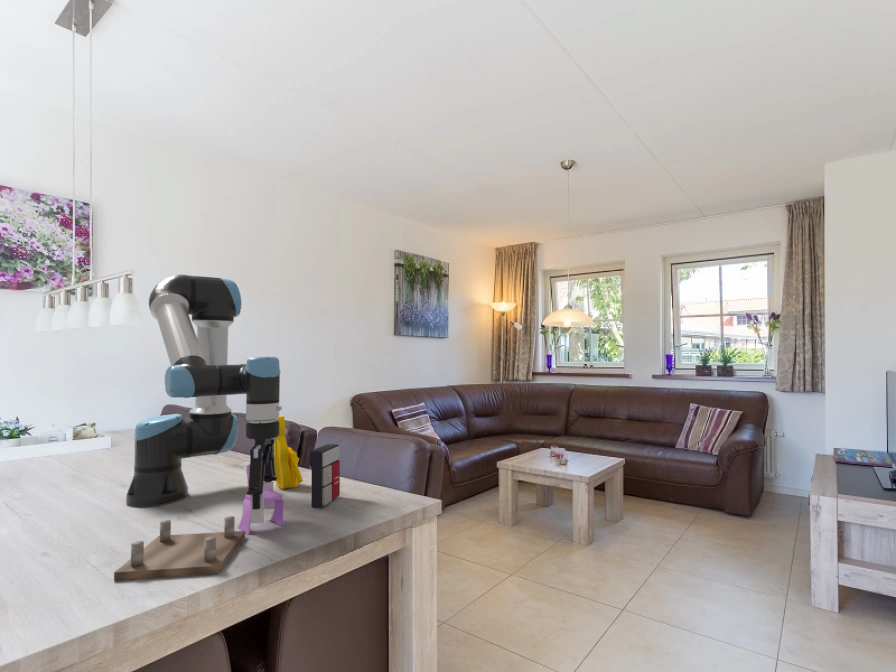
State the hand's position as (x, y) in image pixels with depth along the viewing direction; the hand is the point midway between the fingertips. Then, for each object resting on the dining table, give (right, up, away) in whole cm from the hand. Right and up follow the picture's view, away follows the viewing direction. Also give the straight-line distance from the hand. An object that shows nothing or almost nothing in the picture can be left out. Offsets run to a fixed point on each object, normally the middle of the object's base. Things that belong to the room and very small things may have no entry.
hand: (262, 515), depth 115 cm
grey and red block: (+10, -3, +18) cm, 22 cm away
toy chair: (0, -3, 0) cm, 3 cm away
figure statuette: (-6, -4, +34) cm, 35 cm away
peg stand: (-9, -2, -18) cm, 20 cm away
